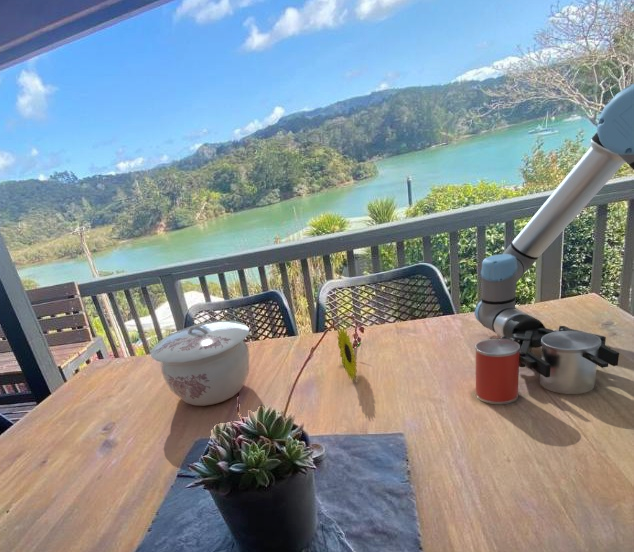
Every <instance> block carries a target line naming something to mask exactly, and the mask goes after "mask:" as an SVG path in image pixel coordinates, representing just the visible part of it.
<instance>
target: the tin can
mask: <svg viewBox="0 0 634 552" xmlns="http://www.w3.org/2000/svg"><path fill="white" fill-rule="evenodd" d="M474 348H475V397H476V398H477V399H478V400H479V401H481V402H483V403H486V404H490V405H508V404H512V403H514V402H516V401H517V400H518V398H519V377H520V376H519V374H520V367H519V352H520V349H521V348H520V345H519V344H518V343H517V342H515V341H512V340H508V339H501V338H489V339H483V340H480V341H479V342H477V343H476V344H475V347H474Z"/></svg>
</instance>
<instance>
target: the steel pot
mask: <svg viewBox="0 0 634 552" xmlns="http://www.w3.org/2000/svg"><path fill="white" fill-rule="evenodd" d="M581 331H582V330H578V331H557V332H552V333H549V334H546V335H544V336H543V337H542V338H541V344H542V346H541V357H540V358H541V359H542V360H544V361H546V362H547V363H549V364H550V365H551V368H550V377H547V378H546V377H544V376H543V375H541V374H540V373H539V374H540V375H539V383H540V385H541V387H542V388H544V389H545V390H548V391H551V392H553V393H557V394H562V395H582V394H585V393H588V392H591V391H592V390H593V389H594V388H595V385H596V376H597V368H598V367H599V368H603V369H604V368H608V367H609V364H608V363H607V362H605V361H603V360H601V359H599V358H598V351H599V347H600V346H601V339H600V338H599V337H598V336H596V335H597V334H596V335H594V334H595V333H591V332H587V331H583V332H581Z"/></svg>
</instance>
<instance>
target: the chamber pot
mask: <svg viewBox="0 0 634 552" xmlns="http://www.w3.org/2000/svg"><path fill="white" fill-rule="evenodd" d="M249 334H250V327H248V325H247V324H246V323H243V322H241V321H238V320H215V321H208V322H203V323H197V324H194V325H191V326H186V327H184V328H181V329H179V330H176V331H175V332H170V333H169V334H167V336H165V337H163V338H161V339H160V340H158V341H157V342H156V343H155V344H154V346H152V348H151V350H150V351H149V353H150V357H151V359H153V360H155V361H156V362H159V363H160V370H161V374H162V377H163V380H164V381H165V383H166V385H167V387H168V388H169V390H170V392H171V393H173V394H174V395H175V396H177V397H178V398H179V399H181V400H182V401H183V402H185V403H186V404H188V405H193V406H197V407H198V406H199V407H206V406H212V405H216V404H219V403H223V402H225V401H227V400H229V399H231V398H233V397H234V396H236V395H237V394H238V393H240V391H241V390H242V388H243V387H244V386H245V383H246V380H247V378H248V375H249V373H250V350H249V345H248V344H247V343H246V341H244V340H245V339H246V338H247V337H248V336H249Z"/></svg>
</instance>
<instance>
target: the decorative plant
mask: <svg viewBox="0 0 634 552" xmlns="http://www.w3.org/2000/svg"><path fill="white" fill-rule="evenodd" d="M337 333H338V334H337V335H336V337H337V341H338V342H337V346H338V349H339V350H340V352H339V356H340V357H341V364H342V367H344V371H345V373H346V374H347V376H348V379H351V382H353V381H354V382H356V378H358V376H357V373H358V369H357V367H358V365H357V361H356V359H357V357H356V356H355V355H356V354H355V353H354V351H355V349H357V348H359V347H360V346H361V345H362V342H358V343H359V344H358V346H357V347H356V348H355V349H354V348H352V344H353V342H351V337H350V334H348V330H347V329H345V327H344V326H342V327H340V328H339V329H337Z"/></svg>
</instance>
